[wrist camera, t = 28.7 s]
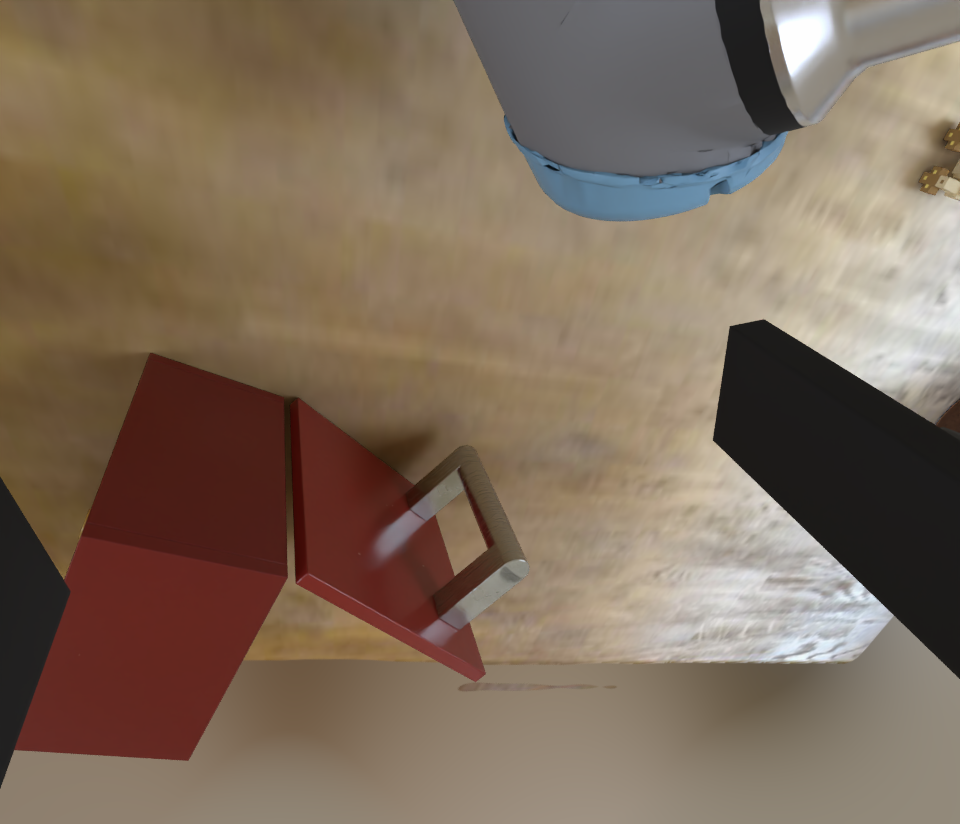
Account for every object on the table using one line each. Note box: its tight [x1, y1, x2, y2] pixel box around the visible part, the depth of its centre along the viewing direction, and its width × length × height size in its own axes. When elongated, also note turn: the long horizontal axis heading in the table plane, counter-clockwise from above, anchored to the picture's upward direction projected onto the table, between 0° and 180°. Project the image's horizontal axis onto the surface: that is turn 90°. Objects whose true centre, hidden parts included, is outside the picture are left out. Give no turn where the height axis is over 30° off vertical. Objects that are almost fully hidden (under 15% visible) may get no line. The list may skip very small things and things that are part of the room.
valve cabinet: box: [14, 353, 288, 761], centre depth 43 cm, size 10×16×20 cm, turn 150°
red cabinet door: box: [290, 398, 529, 682], centre depth 47 cm, size 8×16×20 cm, turn 40°
